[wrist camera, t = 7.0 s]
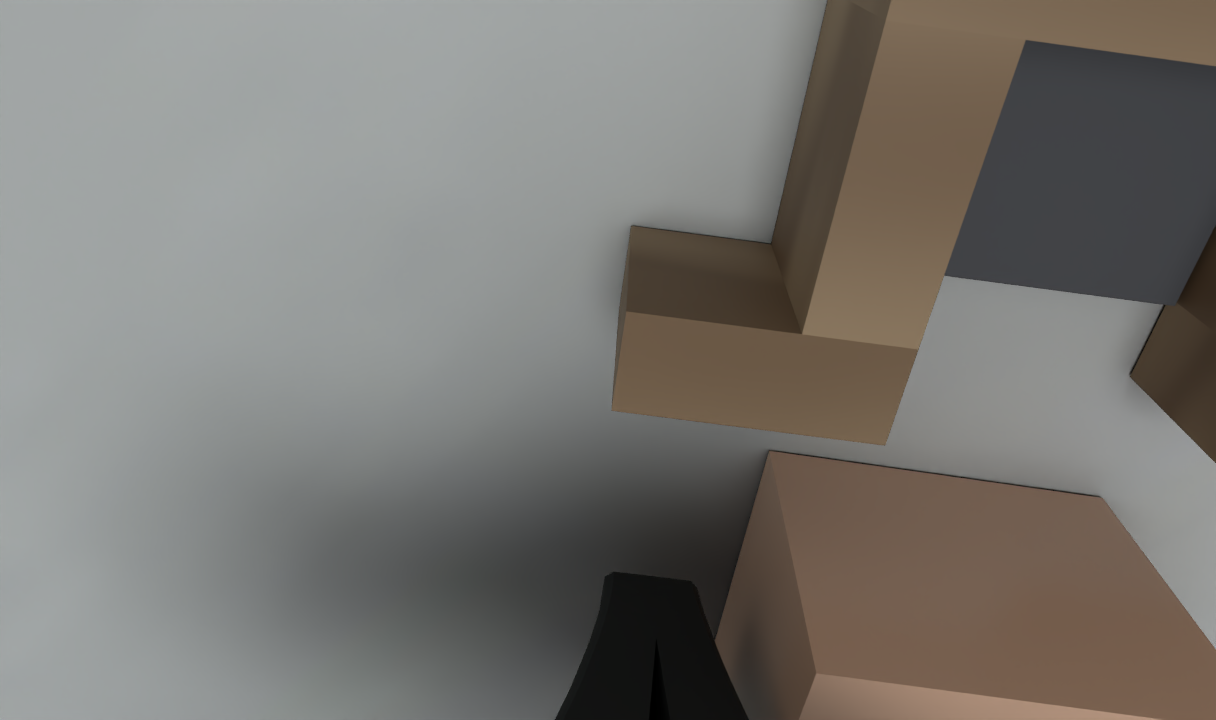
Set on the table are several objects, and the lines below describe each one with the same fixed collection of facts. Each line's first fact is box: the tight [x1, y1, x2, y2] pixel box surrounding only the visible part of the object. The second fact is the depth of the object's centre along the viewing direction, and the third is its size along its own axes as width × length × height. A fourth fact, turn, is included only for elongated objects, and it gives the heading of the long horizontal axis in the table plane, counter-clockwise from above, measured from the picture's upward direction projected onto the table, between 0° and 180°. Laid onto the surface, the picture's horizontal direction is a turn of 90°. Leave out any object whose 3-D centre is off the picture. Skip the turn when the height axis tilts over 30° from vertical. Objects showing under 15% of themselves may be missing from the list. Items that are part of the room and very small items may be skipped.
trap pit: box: [944, 40, 1216, 306], centre depth 10 cm, size 3×4×1 cm
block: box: [715, 451, 1216, 720], centre depth 12 cm, size 5×5×4 cm
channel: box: [612, 0, 1216, 463], centre depth 11 cm, size 16×10×2 cm, turn 173°
